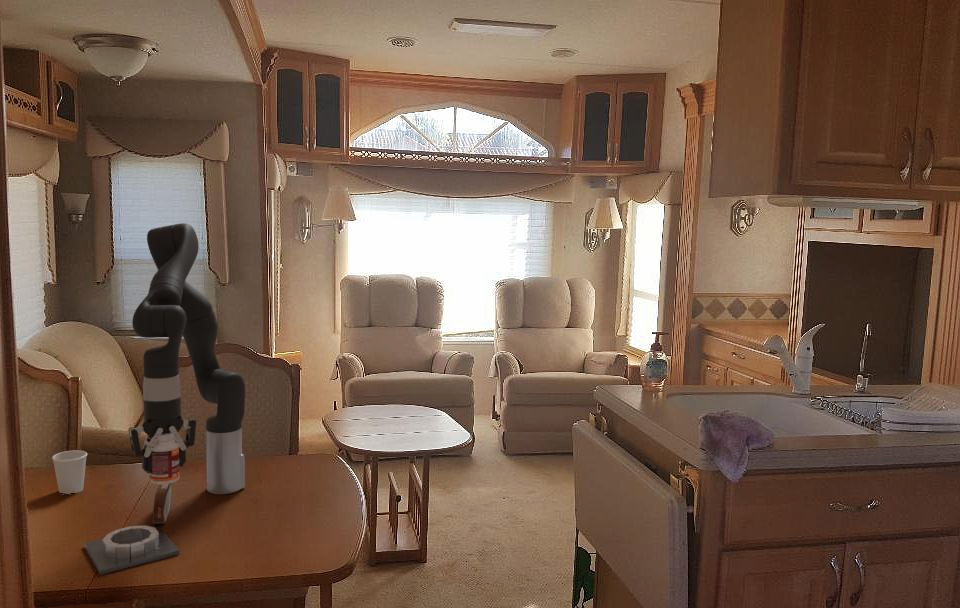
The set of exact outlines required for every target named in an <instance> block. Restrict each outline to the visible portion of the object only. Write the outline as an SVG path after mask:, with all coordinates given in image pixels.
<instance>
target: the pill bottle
mask: <svg viewBox="0 0 960 608" xmlns="http://www.w3.org/2000/svg"><path fill="white" fill-rule="evenodd" d="M150 457H151V473H149V481H150V483H152V484H153V485H158V486H159V485H162V484H170V483H172V484H174V483H175V482H177V481H179V479H180V476H181V474H180V470H181V469H180V468H181V467H180V463H179V443H177V442H176V441H175V440H174V433H172V434H171V433H166V434H161V435H160V436H159V439H158V441H157V443H156V445H155V447H154V448H153V449H152V452H151V454H150Z"/></svg>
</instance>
